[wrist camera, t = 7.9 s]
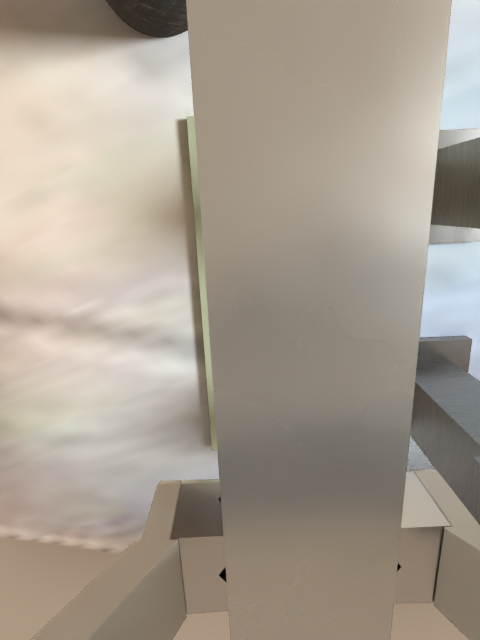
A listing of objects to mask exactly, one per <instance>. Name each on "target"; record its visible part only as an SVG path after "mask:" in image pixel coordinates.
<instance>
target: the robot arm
mask: <svg viewBox="0 0 480 640" xmlns="http://www.w3.org/2000/svg"><path fill="white" fill-rule="evenodd" d="M394 603H434V606H435V607H436V608H437V609H438V610H439V611H440V612H441V613H442V614H443V615H444V616H445V617H447V619H449V620H450V621H451V622H452V623H453V624H454V625H455V626H456V627H457V628H458V629H459V630H460V631H461V632H462V633H463V634H464V635H465V636H466V637H467V638H468V639H469V640H480V525H479V524H478V522H477V521H476V520H475V519H474V517H473V516H472V515H471V513H470V512H469V511H468V510H467V508H466V507H465V506H464V504H463V503H462V502H461V501H460V499H459V498H458V497H457V495H456V494H455V493H454V492H453V490H452V489H451V488H450V486H449V485H448V484H447V483H446V481H445V480H444V479H443V477H442V476H441V475H440V474H439V472H438V471H436V470H435V469H418V470H410V471H406V482H405V492H404V502H403V513H402V523H401V534H400V544H399V554H398V565H397V575H396V585H395V596H394ZM219 611H229V609H228V594H227V580H226V566H225V551H224V537H223V523H222V508H221V494H220V479H209V480H183V481H181V480H177V481H160V482H159V484H158V485H157V487H156V491H155V494H154V498H153V502H152V505H151V509H150V512H149V516H148V519H147V523H146V526H145V530H144V534H143V537H142V541H134V542H133V543H132V544H131V545H130V546H129V547H128V548H127V549H126V550H125V551H124V552H122V553H121V554H120V555H119V556H118V557H117V558H116V559H115V560H114V561H113V562H112V563H111V564H110V565H109V566H108V567H107V568H106V569H105V570H104V571H103V572H101V573H100V574H99V575H98V576H97V577H96V578H95V579H94V580H93V581H92V582H91V583H90V584H89V585H88V586H87V587H86V588H84V589H83V591H81V592H80V593H79V594H78V595H77V596H76V597H75V598H74V599H73V600H72V601H71V602H70V603H69V604H68V605H66V606H65V607H64V608H63V609H62V610H61V611H60V612H59V613H58V614H57V615H56V616H55V617H54V618H53V619H52V620H51V621H50V622H49V623H48V624H46V625H45V626H44V628H42V629H41V630H40V631H39V632H38V633H37V634H36V635H35V636H34V637H33V638H32V639H31V640H173V638H174V636H175V635H176V633H177V632H178V630H179V628H180V627H181V625H182V623H183V622H184V620H185V619H186V614H193V613H206V612H219Z"/></svg>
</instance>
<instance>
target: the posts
mask: <svg viewBox="0 0 480 640" xmlns="http://www.w3.org/2000/svg"><path fill="white" fill-rule="evenodd" d="M461 242H480V128H476V129H456V130H439V139H438V150H437V160H436V170H435V181H434V191H433V201H432V212H431V222H430V233H429V243H428V244H439V243H461ZM471 345H472V339H471V338H469V337H467V336H451V337H428V338H419V347H418V357H417V367H416V378H415V388H414V399H413V409H412V419H411V430H410V436H411V437H412V438H413V439H414V441H415V442H416V443H417V445H418V446H419V447H420V449H421V450H422V451H423V453H424V454H425V455H426V457H427V458H428V459H429V461H430V462H431V463H432V465H433V466H434V467H435V469H436V470H437V471H438V472H439V474H440V475H441V476H442V477H443V479H444V480H445V481H446V483H447V484H448V485H449V486H450V488H451V489H452V490H453V492H454V493H455V494H456V495H457V497H458V498H459V499H460V501H461V502H462V503H463V504H464V506H465V507H466V508H467V510H468V511H469V512H470V513H471V515H472V516H473V517H474V519H475V520H476V521H477V522H478V524H479V525H480V381H479V380H477V379H476V378H474V377H473V376H472V375H470V374H469V373H468V367H469V360H470V352H471Z"/></svg>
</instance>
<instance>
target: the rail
mask: <svg viewBox="0 0 480 640" xmlns="http://www.w3.org/2000/svg"><path fill="white" fill-rule="evenodd" d="M451 4H452V0H186V6H187V21H188V35H189V49H190V64H191V78H192V92H193V107H194V121H195V135H196V150H197V164H198V178H199V193H200V207H201V221H202V236H203V250H204V264H205V279H206V293H207V307H208V322H209V336H210V350H211V365H212V379H213V393H214V408H215V422H216V436H217V451H218V465H219V479H220V494H221V508H222V523H223V537H224V551H225V566H226V580H227V594H228V609H229V623H230V637H231V640H390V637H391V627H392V616H393V606H394V596H395V585H396V575H397V565H398V554H399V544H400V534H401V523H402V513H403V502H404V492H405V482H406V471H407V461H408V451H409V440H410V430H411V419H412V409H413V399H414V388H415V378H416V367H417V357H418V347H419V336H420V326H421V316H422V305H423V295H424V284H425V274H426V264H427V253H428V243H429V233H430V222H431V212H432V201H433V191H434V181H435V170H436V160H437V150H438V139H439V129H440V118H441V108H442V98H443V87H444V77H445V67H446V56H447V46H448V35H449V25H450V15H451Z"/></svg>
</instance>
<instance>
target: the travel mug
mask: <svg viewBox="0 0 480 640" xmlns="http://www.w3.org/2000/svg"><path fill="white" fill-rule="evenodd" d="M106 1H107V2H108V3H109V5H110V6H111V7H112V9H113V10H114V11H115V12H116V14H117V15H118V16H119V17H120V18H121V19H122V20H123V21H124V22H126V23H127V24H128V25H129V26H131V27H132V28H134V29H135V30H138V31H140V32H142V33H144V34H147V35H151V36H157V37H168V36H174V35H177V34H181V33H183V32H185V31H187V30H188V21H187V6H186V0H106Z"/></svg>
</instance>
